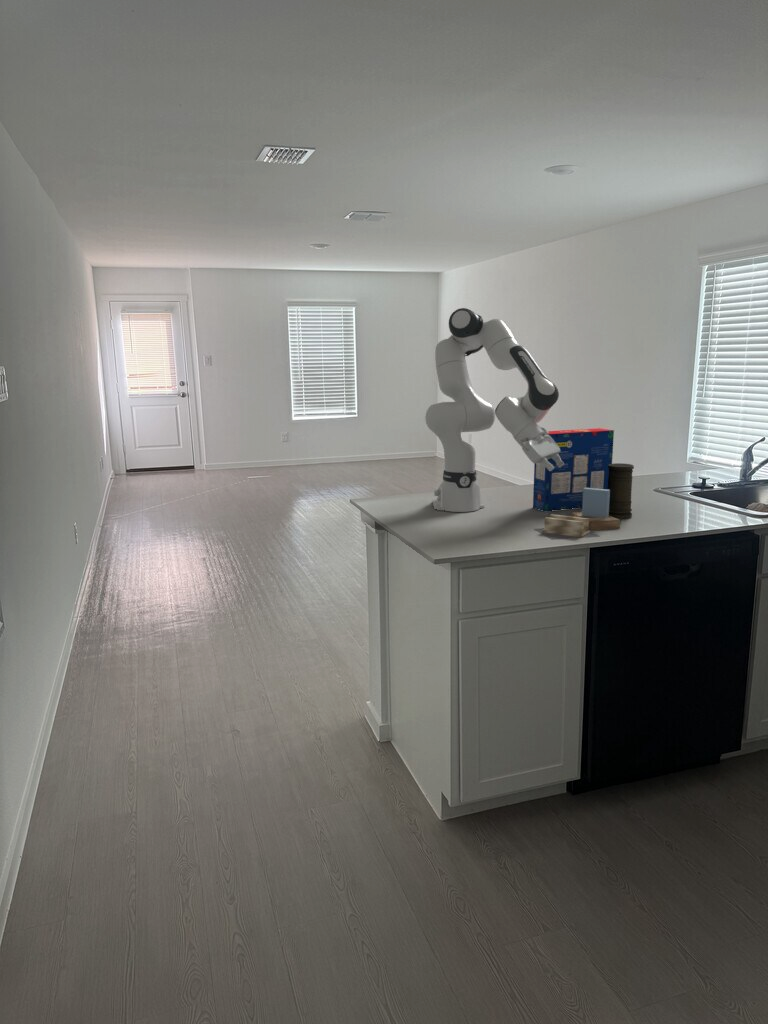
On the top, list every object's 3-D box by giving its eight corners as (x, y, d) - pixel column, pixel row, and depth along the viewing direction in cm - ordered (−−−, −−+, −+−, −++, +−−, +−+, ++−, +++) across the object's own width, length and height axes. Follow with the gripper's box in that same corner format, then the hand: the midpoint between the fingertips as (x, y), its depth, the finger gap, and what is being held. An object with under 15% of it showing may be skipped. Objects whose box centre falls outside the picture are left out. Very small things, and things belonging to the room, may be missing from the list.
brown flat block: (570, 521, 238) (571, 512, 237) (598, 519, 240) (598, 510, 239) (590, 530, 224) (591, 521, 224) (619, 529, 226) (620, 519, 225)
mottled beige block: (542, 532, 222) (542, 517, 221) (550, 527, 228) (550, 513, 227) (582, 537, 215) (583, 522, 214) (590, 532, 221) (590, 518, 220)
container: (636, 516, 244) (639, 464, 240) (624, 520, 238) (627, 467, 234) (611, 512, 250) (614, 462, 247) (599, 516, 244) (602, 465, 240)
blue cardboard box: (595, 501, 269) (599, 428, 263) (609, 505, 262) (613, 430, 256) (532, 507, 260) (535, 431, 254) (545, 512, 252) (548, 434, 246)
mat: (533, 529, 227) (533, 528, 227) (579, 526, 230) (579, 525, 230) (551, 540, 213) (551, 539, 213) (600, 537, 216) (600, 536, 216)
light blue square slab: (581, 515, 232) (583, 488, 230) (584, 514, 234) (585, 487, 232) (606, 518, 228) (607, 490, 226) (608, 516, 230) (610, 489, 228)
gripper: (525, 433, 229) (553, 465, 225) (547, 428, 245) (573, 458, 242) (512, 446, 232) (539, 478, 229) (534, 440, 249) (560, 470, 245)
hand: (557, 467), depth 236 cm, fingers open, 8 cm apart
